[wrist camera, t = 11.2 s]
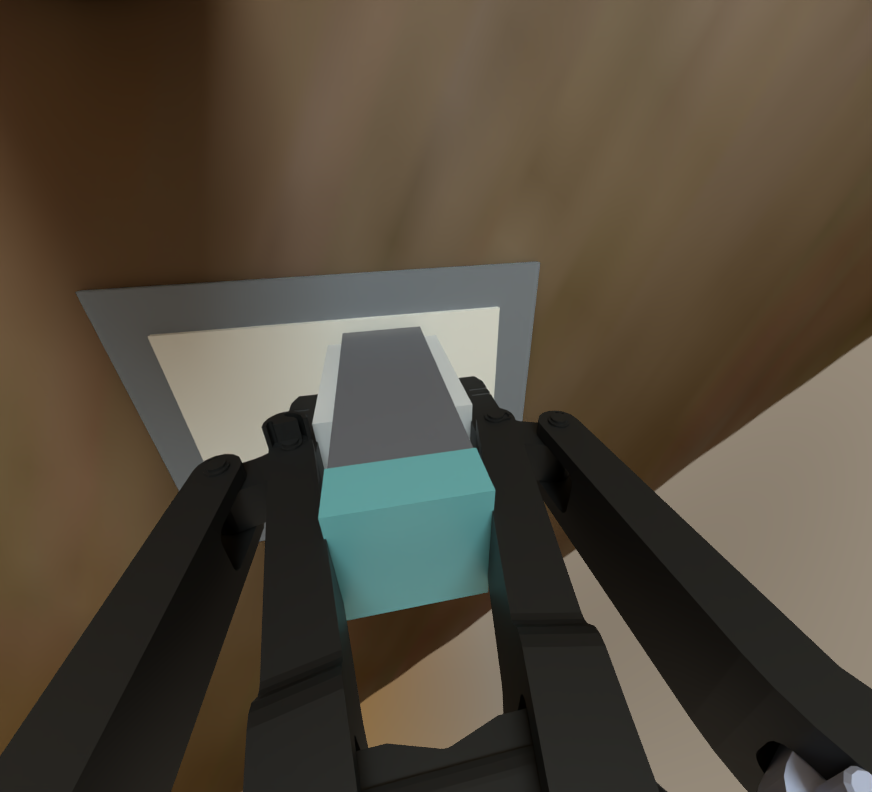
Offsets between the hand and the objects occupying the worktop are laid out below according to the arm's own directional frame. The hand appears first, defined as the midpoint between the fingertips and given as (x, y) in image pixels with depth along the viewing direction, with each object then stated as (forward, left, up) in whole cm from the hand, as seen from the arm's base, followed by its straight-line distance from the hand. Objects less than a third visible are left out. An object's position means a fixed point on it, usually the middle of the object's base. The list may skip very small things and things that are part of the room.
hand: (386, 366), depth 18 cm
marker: (0, 0, 0) cm, 0 cm away
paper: (-2, -4, -1) cm, 5 cm away
